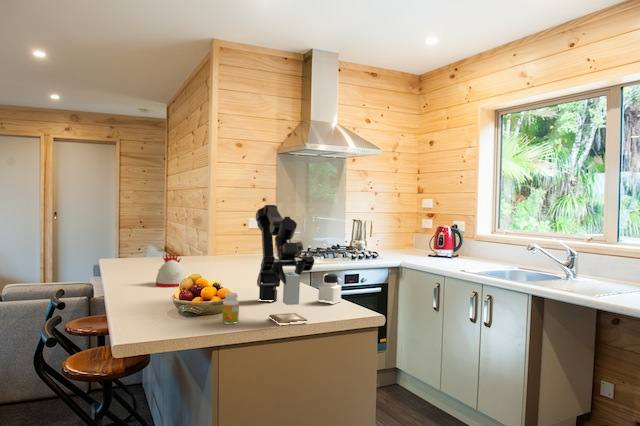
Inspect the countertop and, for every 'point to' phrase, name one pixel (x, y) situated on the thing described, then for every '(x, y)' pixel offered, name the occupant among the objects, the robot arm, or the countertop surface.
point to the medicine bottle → (330, 288)
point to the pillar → (291, 289)
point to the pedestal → (287, 318)
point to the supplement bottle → (230, 308)
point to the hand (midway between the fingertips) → (291, 283)
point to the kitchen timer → (170, 273)
